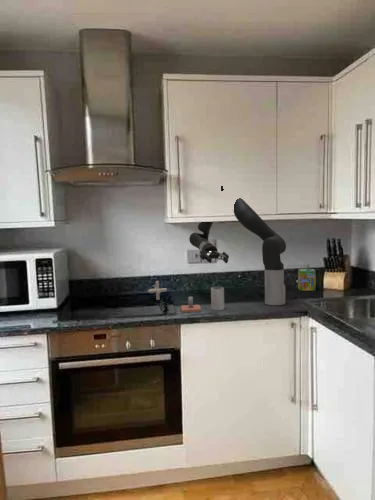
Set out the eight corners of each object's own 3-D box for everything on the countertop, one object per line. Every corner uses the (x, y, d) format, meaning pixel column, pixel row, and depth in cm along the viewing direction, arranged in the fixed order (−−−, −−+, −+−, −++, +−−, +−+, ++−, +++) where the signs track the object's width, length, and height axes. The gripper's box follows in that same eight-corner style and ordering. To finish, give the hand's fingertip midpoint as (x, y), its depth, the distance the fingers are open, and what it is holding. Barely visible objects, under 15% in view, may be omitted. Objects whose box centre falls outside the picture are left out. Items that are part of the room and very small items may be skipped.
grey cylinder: (223, 306, 183) (222, 286, 182) (225, 309, 177) (224, 288, 176) (210, 307, 182) (210, 287, 181) (212, 310, 176) (211, 289, 175)
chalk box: (297, 287, 222) (297, 263, 220) (314, 288, 220) (313, 263, 218) (299, 291, 213) (299, 265, 211) (316, 291, 211) (316, 265, 209)
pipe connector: (150, 302, 197) (149, 283, 196) (147, 298, 207) (146, 280, 206) (168, 300, 200) (168, 282, 199) (165, 296, 210) (164, 279, 209)
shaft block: (199, 307, 183) (198, 294, 183) (201, 311, 175) (200, 298, 174) (181, 308, 183) (180, 295, 182) (182, 312, 174) (181, 299, 173)
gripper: (196, 242, 194) (206, 253, 180) (221, 243, 199) (233, 254, 184) (194, 256, 197) (204, 268, 182) (219, 256, 201) (230, 268, 187)
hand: (218, 261), depth 183 cm, fingers open, 8 cm apart
